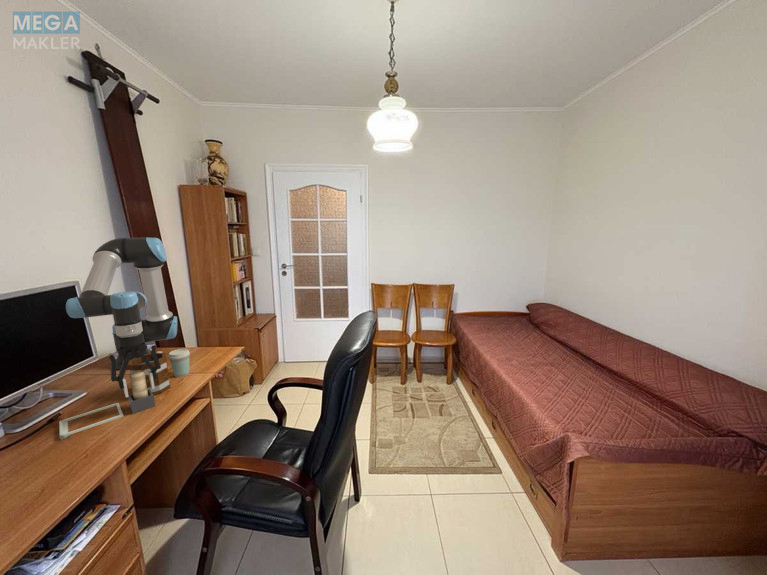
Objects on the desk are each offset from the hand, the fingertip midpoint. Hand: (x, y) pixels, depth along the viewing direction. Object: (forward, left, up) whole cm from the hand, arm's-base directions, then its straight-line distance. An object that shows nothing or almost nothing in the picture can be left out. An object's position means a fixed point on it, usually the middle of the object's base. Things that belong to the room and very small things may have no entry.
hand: (140, 391), depth 116 cm
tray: (-4, -14, -7) cm, 16 cm away
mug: (-15, +7, -7) cm, 18 cm away
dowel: (0, 0, -6) cm, 6 cm away
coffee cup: (-20, +18, -7) cm, 28 cm away
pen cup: (0, 0, -7) cm, 7 cm away
